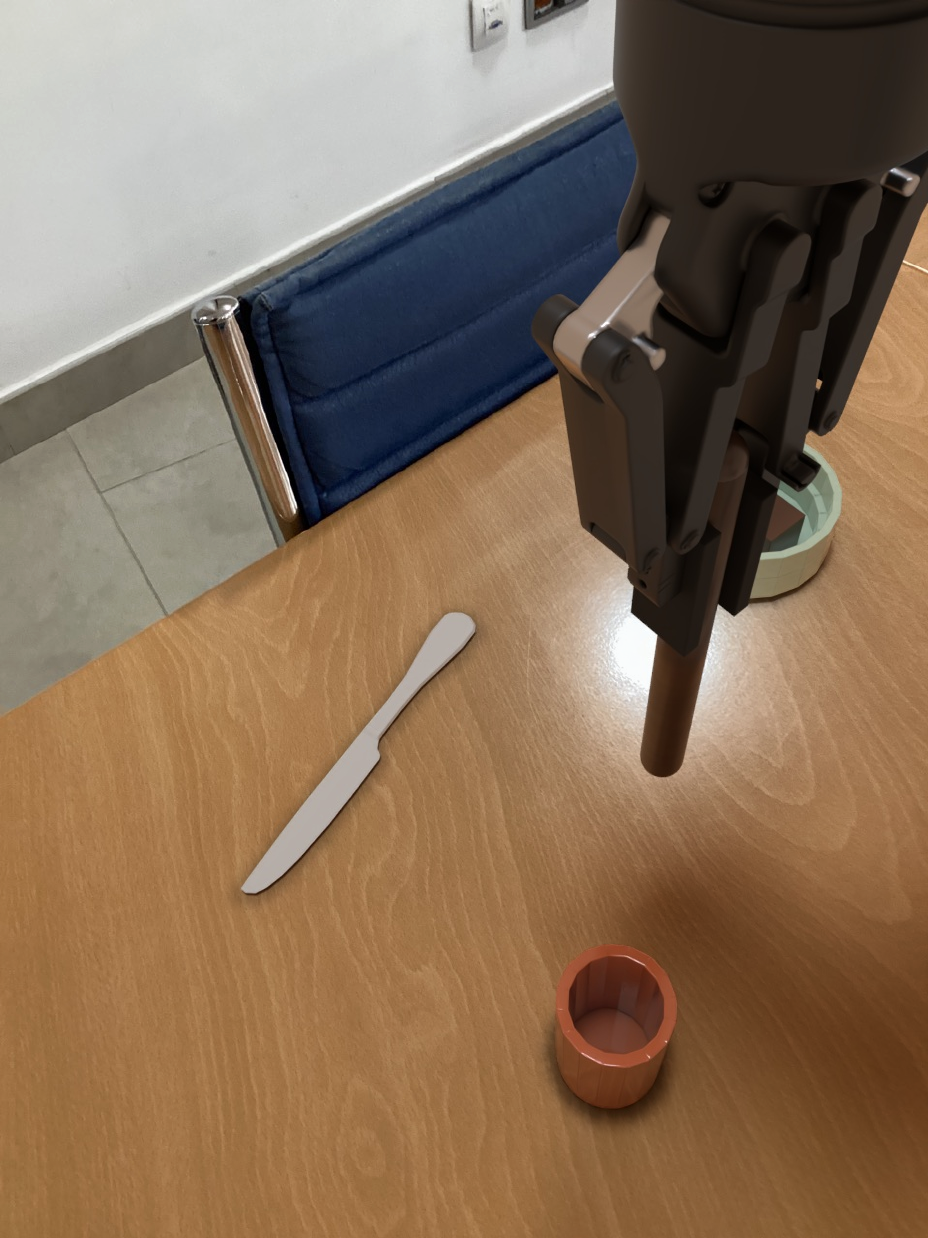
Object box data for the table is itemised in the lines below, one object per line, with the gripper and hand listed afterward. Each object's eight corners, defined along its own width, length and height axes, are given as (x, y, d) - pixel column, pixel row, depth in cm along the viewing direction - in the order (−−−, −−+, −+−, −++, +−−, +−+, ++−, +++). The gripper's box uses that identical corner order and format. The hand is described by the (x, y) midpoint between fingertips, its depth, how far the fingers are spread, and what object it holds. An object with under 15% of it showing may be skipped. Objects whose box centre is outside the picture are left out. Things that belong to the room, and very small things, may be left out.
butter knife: (485, 623, 74) (450, 605, 75) (263, 905, 63) (227, 879, 64) (485, 626, 74) (451, 608, 75) (265, 907, 64) (229, 882, 65)
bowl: (862, 539, 76) (879, 493, 72) (745, 633, 73) (756, 590, 68) (735, 448, 82) (745, 401, 78) (620, 531, 78) (624, 485, 74)
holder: (681, 1060, 57) (702, 1011, 49) (605, 1133, 56) (613, 1094, 47) (609, 980, 60) (618, 920, 52) (535, 1046, 58) (531, 996, 50)
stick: (690, 767, 50) (768, 435, 32) (660, 793, 49) (722, 469, 31) (659, 739, 51) (718, 401, 33) (629, 764, 50) (672, 434, 32)
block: (796, 546, 76) (806, 514, 73) (763, 572, 75) (771, 541, 72) (759, 518, 77) (767, 486, 74) (726, 543, 76) (732, 512, 73)
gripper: (905, -261, 24) (749, 453, 44) (388, -23, 19) (470, 660, 39) (1225, -179, 21) (901, 559, 40) (689, 137, 16) (615, 802, 35)
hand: (689, 608), depth 39 cm, fingers closed on stick, 2 cm apart
